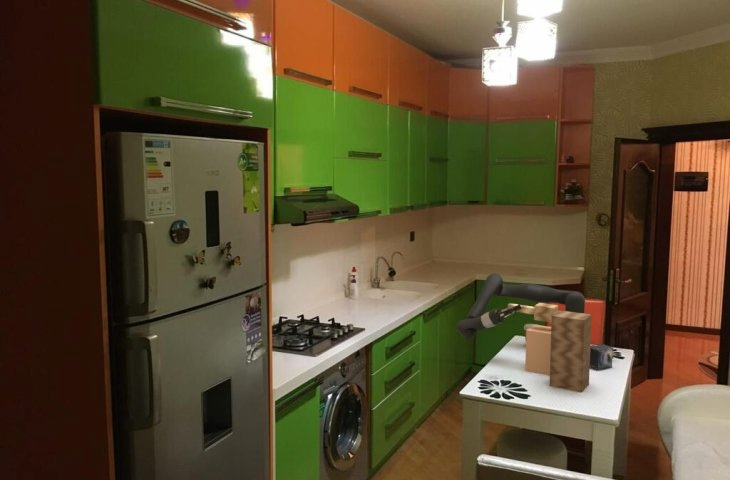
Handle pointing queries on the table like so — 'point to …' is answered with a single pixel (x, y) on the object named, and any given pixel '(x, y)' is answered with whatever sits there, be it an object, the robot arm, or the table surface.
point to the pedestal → (538, 349)
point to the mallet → (538, 311)
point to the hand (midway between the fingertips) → (521, 305)
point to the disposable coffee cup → (528, 328)
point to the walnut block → (570, 350)
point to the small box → (601, 357)
